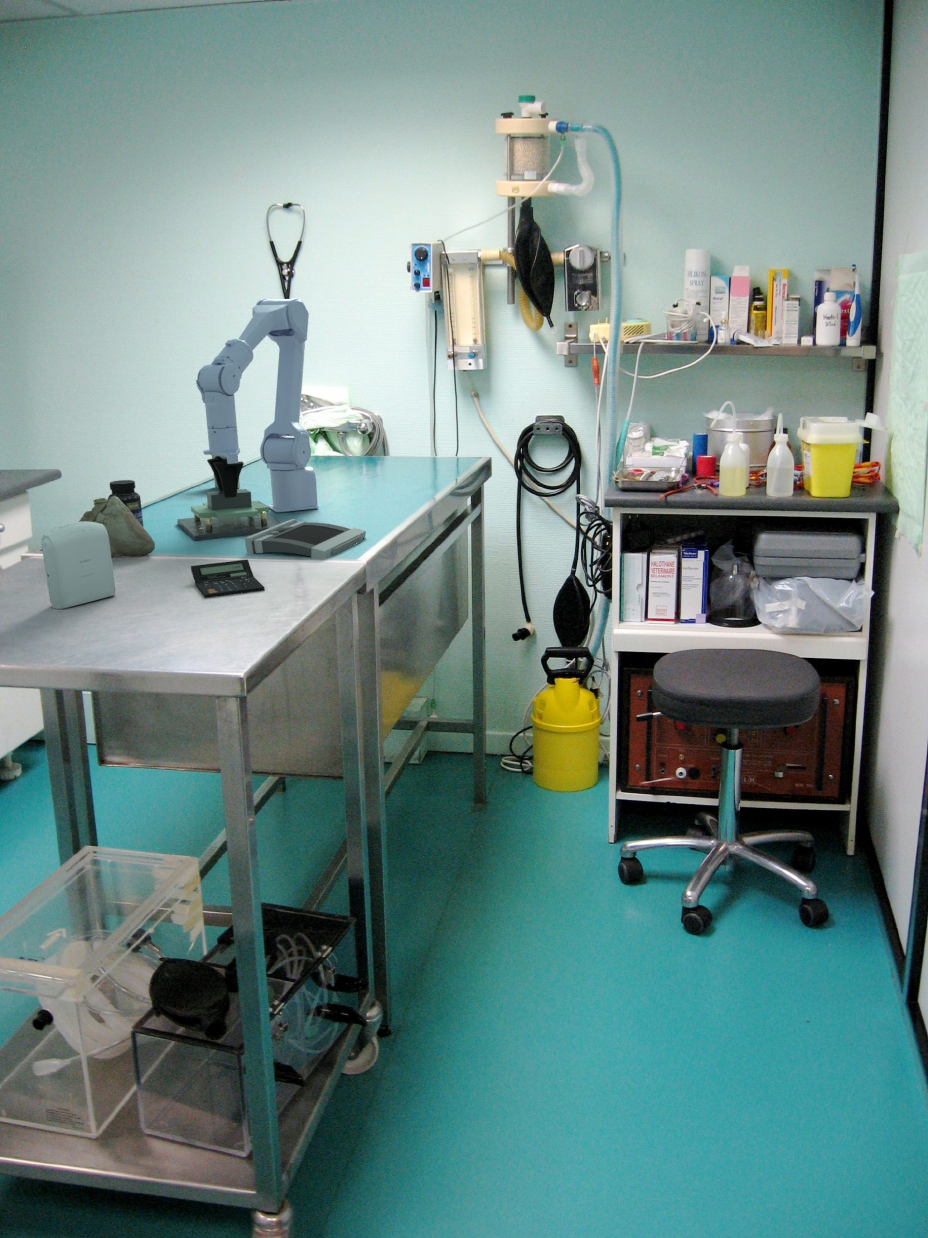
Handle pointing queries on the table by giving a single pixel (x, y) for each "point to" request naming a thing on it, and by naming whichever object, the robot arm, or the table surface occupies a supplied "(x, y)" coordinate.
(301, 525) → the grey curved panel device
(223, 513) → the circuit board
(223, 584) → the calculator
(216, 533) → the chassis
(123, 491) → the pill bottle
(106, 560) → the photo printer
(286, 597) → the table surface
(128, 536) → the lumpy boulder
